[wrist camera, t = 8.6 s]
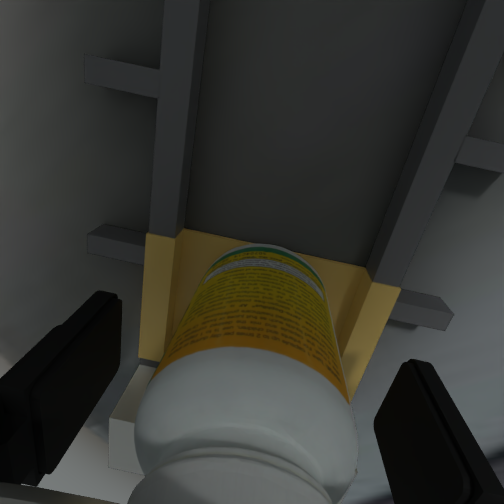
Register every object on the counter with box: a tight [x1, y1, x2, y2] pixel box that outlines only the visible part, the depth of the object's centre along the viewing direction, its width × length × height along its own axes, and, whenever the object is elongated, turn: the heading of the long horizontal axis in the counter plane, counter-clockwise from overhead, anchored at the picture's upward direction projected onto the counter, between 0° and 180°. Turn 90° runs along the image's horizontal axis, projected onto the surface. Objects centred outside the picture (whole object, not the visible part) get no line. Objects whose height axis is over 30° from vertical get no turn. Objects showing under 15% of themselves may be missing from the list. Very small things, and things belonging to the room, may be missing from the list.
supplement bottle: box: [128, 244, 358, 504], centre depth 10 cm, size 5×5×10 cm
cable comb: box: [84, 0, 504, 504], centre depth 10 cm, size 22×14×5 cm, turn 169°
